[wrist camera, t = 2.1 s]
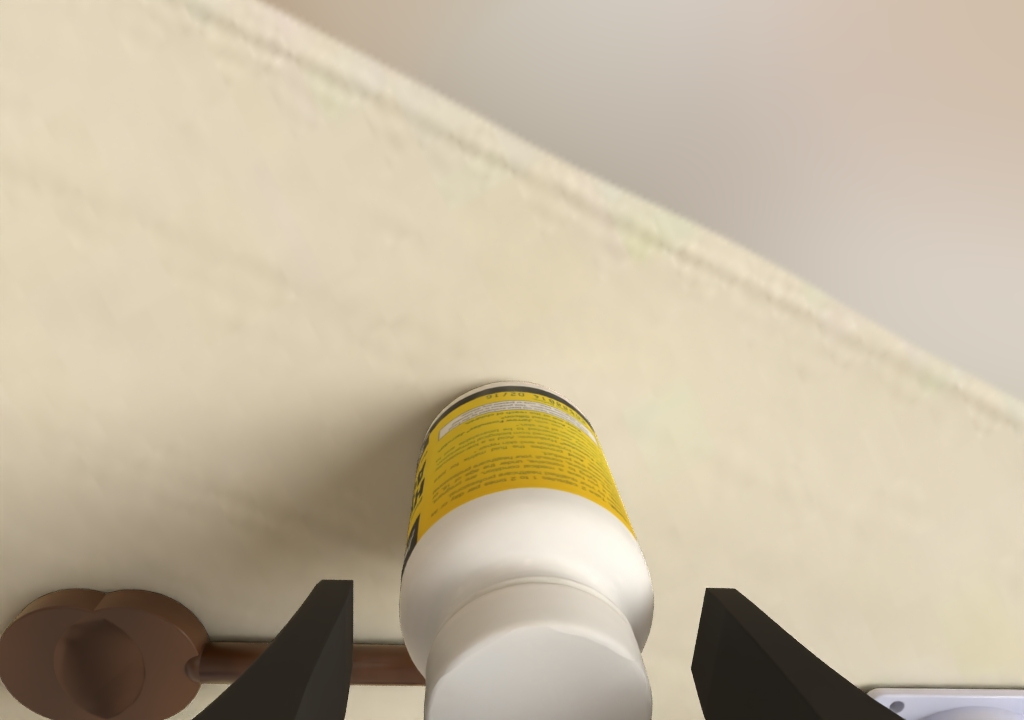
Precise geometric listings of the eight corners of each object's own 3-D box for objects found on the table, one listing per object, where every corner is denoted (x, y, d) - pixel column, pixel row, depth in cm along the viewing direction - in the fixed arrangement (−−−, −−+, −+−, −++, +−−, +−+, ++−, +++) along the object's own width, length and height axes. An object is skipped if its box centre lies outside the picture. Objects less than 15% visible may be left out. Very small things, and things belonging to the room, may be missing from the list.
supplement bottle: (393, 404, 21) (338, 633, 12) (575, 354, 21) (667, 547, 11) (446, 558, 23) (435, 866, 13) (615, 514, 22) (722, 793, 13)
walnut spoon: (608, 599, 23) (616, 623, 22) (593, 707, 25) (599, 735, 24) (3, 585, 22) (-22, 611, 21) (23, 702, 23) (0, 732, 22)
